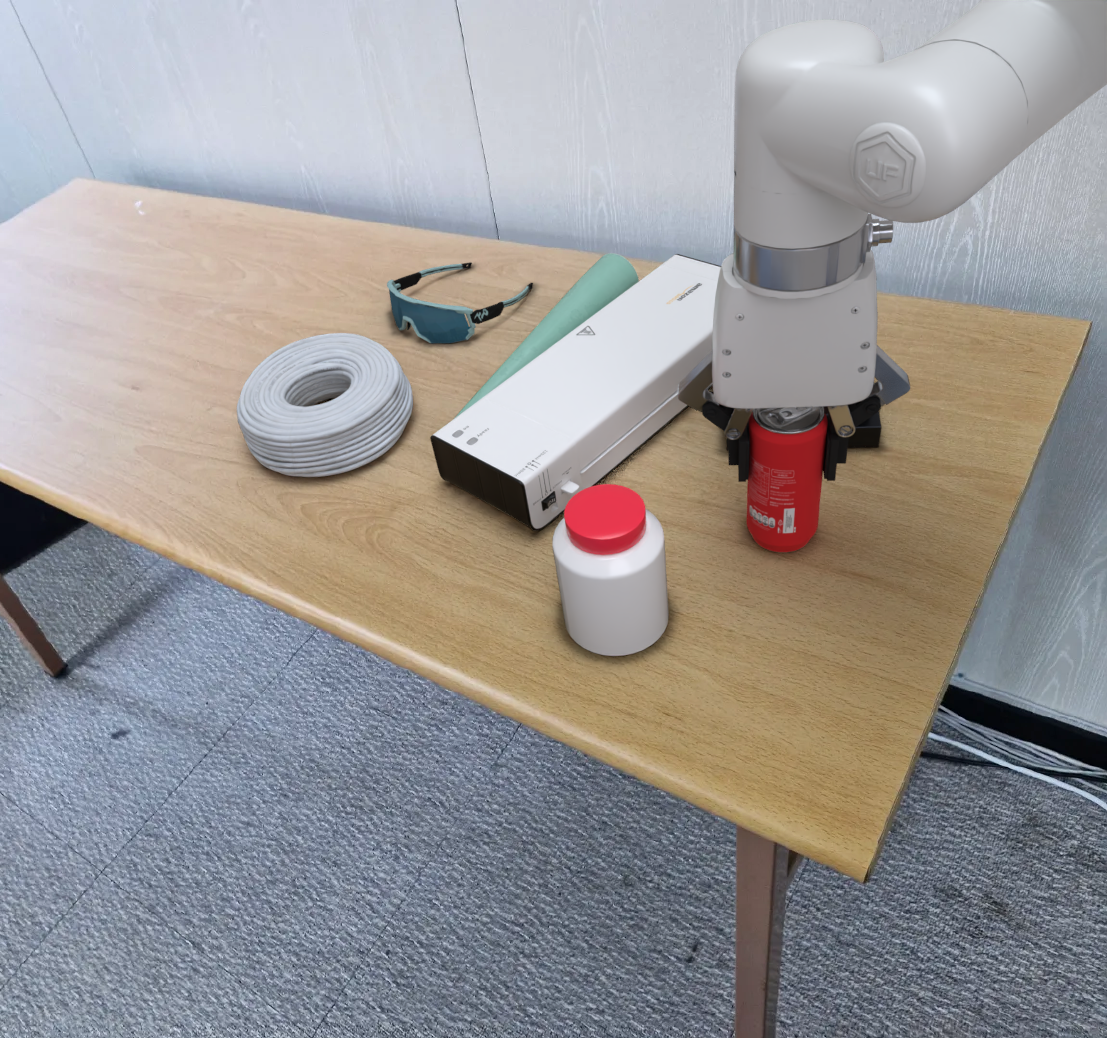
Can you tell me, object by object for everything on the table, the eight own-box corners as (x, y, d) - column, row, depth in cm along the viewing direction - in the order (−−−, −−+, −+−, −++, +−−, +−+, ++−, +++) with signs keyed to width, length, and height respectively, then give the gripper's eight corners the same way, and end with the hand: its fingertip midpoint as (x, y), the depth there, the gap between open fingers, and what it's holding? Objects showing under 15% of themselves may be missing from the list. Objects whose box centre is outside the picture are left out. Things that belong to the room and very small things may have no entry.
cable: (309, 366, 108) (293, 319, 104) (447, 385, 100) (435, 336, 96) (217, 467, 98) (196, 420, 94) (362, 498, 90) (346, 447, 86)
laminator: (676, 306, 102) (674, 252, 98) (781, 339, 94) (784, 283, 90) (442, 487, 89) (428, 434, 84) (542, 544, 81) (532, 489, 77)
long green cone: (419, 383, 92) (595, 248, 103) (431, 429, 95) (599, 293, 106) (461, 400, 88) (638, 258, 99) (471, 447, 92) (641, 305, 103)
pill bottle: (689, 628, 71) (685, 520, 64) (596, 672, 70) (581, 568, 63) (634, 564, 77) (624, 458, 70) (546, 604, 76) (528, 500, 69)
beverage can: (733, 524, 78) (734, 404, 70) (791, 501, 78) (799, 380, 70) (770, 565, 74) (776, 444, 66) (831, 541, 74) (844, 418, 67)
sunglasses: (368, 322, 112) (361, 282, 109) (461, 276, 119) (457, 237, 116) (452, 358, 103) (447, 315, 100) (547, 306, 110) (546, 264, 107)
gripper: (944, 203, 60) (906, 433, 72) (656, 228, 65) (667, 439, 77) (965, 267, 55) (921, 503, 67) (651, 288, 60) (663, 504, 72)
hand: (785, 466), depth 72 cm, fingers closed on beverage can, 5 cm apart
